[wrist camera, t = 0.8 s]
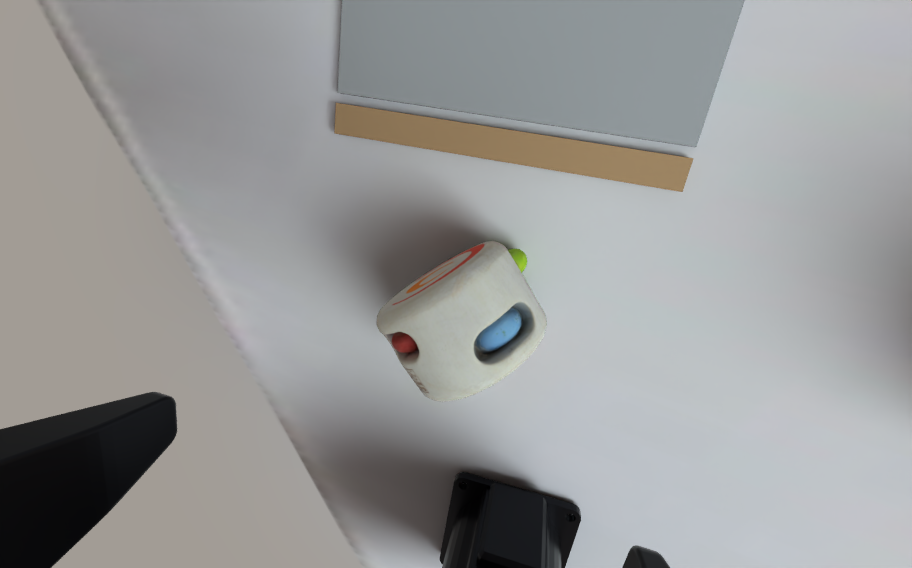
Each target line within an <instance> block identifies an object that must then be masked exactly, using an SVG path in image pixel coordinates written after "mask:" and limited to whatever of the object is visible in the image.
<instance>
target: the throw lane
mask: <svg viewBox="0 0 912 568" xmlns="http://www.w3.org/2000/svg"><path fill="white" fill-rule="evenodd" d="M744 1H745V0H342V12H341V32H340V53H339V74H338V93H342V94H348V95H355V96H361V97H368V98H375V99H381V100H388V101H394V102H401V103H407V104H414V105H421V106H427V107H434V108H440V109H447V110H454V111H460V112H467V113H473V114H480V115H487V116H493V117H500V118H506V119H513V120H520V121H526V122H533V123H539V124H546V125H552V126H559V127H566V128H572V129H579V130H585V131H592V132H599V133H605V134H612V135H618V136H625V137H632V138H638V139H645V140H651V141H658V142H665V143H671V144H678V145H684V146H691V147H696V146H697V143H698V140H699V137H700V134H701V131H702V128H703V125H704V122H705V119H706V116H707V113H708V110H709V107H710V104H711V101H712V98H713V95H714V92H715V89H716V86H717V83H718V80H719V77H720V74H721V71H722V68H723V64H724V61H725V58H726V55H727V52H728V49H729V46H730V43H731V40H732V37H733V34H734V31H735V28H736V25H737V22H738V19H739V16H740V13H741V10H742V7H743V4H744ZM334 133H336V134H341V135H347V136H353V137H359V138H365V139H371V140H377V141H383V142H389V143H395V144H401V145H407V146H413V147H419V148H425V149H430V150H436V151H442V152H448V153H454V154H460V155H466V156H472V157H478V158H484V159H490V160H496V161H502V162H508V163H514V164H519V165H525V166H531V167H537V168H543V169H549V170H555V171H561V172H567V173H573V174H579V175H585V176H591V177H597V178H603V179H608V180H614V181H620V182H626V183H632V184H638V185H644V186H650V187H656V188H662V189H668V190H674V191H680V192H682V191H683V188H684V185H685V182H686V179H687V176H688V173H689V170H690V167H691V164H692V161H693V158H687V157H681V156H674V155H668V154H661V153H655V152H648V151H642V150H636V149H629V148H623V147H616V146H610V145H604V144H597V143H591V142H584V141H578V140H572V139H565V138H559V137H552V136H546V135H539V134H533V133H527V132H520V131H514V130H507V129H501V128H495V127H488V126H482V125H475V124H469V123H462V122H456V121H450V120H443V119H437V118H430V117H424V116H418V115H411V114H405V113H398V112H392V111H385V110H379V109H373V108H366V107H360V106H353V105H347V104H341V103H336V111H335V132H334Z"/></svg>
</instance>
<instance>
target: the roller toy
mask: <svg viewBox="0 0 912 568" xmlns="http://www.w3.org/2000/svg"><path fill="white" fill-rule="evenodd" d="M526 265H527V258H526V255H525V253H524V252H523V251H521V250H519V249H509V250H507V248H506V247H505V246H504V245H502V244H501V243H498V242H495V241H487V242H484V243H481V244H478V245H476V246H474V247H472V248H470V249H467V250H466V251H464V252H462V253H459V254H458V255H456V256H454V257H452V258H451V259H449V260H447V261H445V262H444V263H442V264H440V265H439V266H437V267H435V268H434V269H432V270H431V271H429V272H427V273H426V274H424V275H423V276H421V277H420V278H418V279H417V280H415V281H414V282H413V283H411V284H410V285H408V286H407V287H406V288H404V289H403V290H402V291H400V292H399V293H398V294H396V295H395V296H394V297H393V298H392V299H390V300H389V301H388V302H387V303H386V304H385V305H384V306H383V307H382V308H381V310H380V311H379V313H378V316H377V327H378V329H379V331H380V332H381V333H382V334H383V335H384V336H385V337H386V338H387V340H388V341H389V342H390V344H391V346H392V347H393V349H394V351H395V353H396V355H397V357H398V359H399V360H400V362H401V364H402V365H403V367H404V368H405V370H406V371H407V372H408V374H409V375H410V376H411V378H412V379H413V380H414V382H415V383H416V385H417V386H418V387H419V389H420V390H421V391H422V393H423V394H424V395H425V396H427V397H428V398H430V399H432V400H436V401H453V400H458V399H462V398H466V397H468V396H471V395H474V394H476V393H478V392H480V391H482V390H484V389H486V388H488V387H490V386H492V385H494V384H496V383H497V382H499V381H500V380H502V379H503V378H505V377H506V376H507V375H509V374H510V373H512V372H513V371H514V370H515V369H517V368H518V367H519V366H520V365H521V364H522V363H523V362H524V361H525V360H527V359H528V357H529V356H530V355H531V354H532V353H533V352H534V350H535V349H536V348H537V347H538V345H539V343H540V342H541V340H542V338H543V336H544V334H545V330H546V325H547V321H546V316H545V313H544V311H543V309H542V308H541V306H540V304H539V303H538V301H537V299H536V297H535V295H534V294H533V292H532V290H531V288H530V287H529V285H528V283H527V281H526V280H525V278H524V276H523V274H522V272H523V271H524V269H525V267H526Z"/></svg>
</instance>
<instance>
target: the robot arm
mask: <svg viewBox="0 0 912 568" xmlns="http://www.w3.org/2000/svg"><path fill="white" fill-rule="evenodd" d="M176 433H177V417H176V403H175V400H174V399H173V398H172V397H170V396H167V395H164V394H161V393H157V392H150V393H145V394H141V395H137V396H134V397H129V398H125V399H121V400H117V401H113V402H109V403H105V404H101V405H97V406H93V407H89V408H85V409H81V410H77V411H73V412H69V413H65V414H61V415H57V416H53V417H48V418H45V419H40V420H37V421H33V422H29V423H24V424H20V425H16V426H12V427H8V428H4V429H0V568H51V567H52V566H53V565H54V564H55V563H56V562H58V561H59V560H60V559H61V557H63V555H65V554H66V553H67V552H68V551H69V550H70V549H71V548H72V547H73V546H74V545H75V544H76V543H77V542H79V540H81V538H83V537H84V536H85V535H86V534H87V533H88V532H89V531H90V530H91V529H92V528H93V527H94V526H95V525H96V524H97V523H98V522H99V521H100V520H101V519H102V518H103V517H104V516H105V515H106V514H107V513H108V512H109V511H110V510H111V509H112V508H113V507H114V506H115V505H116V504H117V503H118V502H119V501H120V500H121V499H122V498H123V496H124V495H125V494H126V493H127V492H128V491H129V490H130V489H131V487H132V486H133V485H134V484H135V483H136V482H137V481H138V480H139V478H140V477H141V476H142V475H143V474H144V473H145V471H147V470H148V468H149V467H150V466H151V465H152V464H153V463H154V462H155V461H156V459H158V457H159V456H160V455H161V454H162V453H163V452H164V451H165V450H166V449H167V447H168V446H169V445H170V444H171V443H172V441H173V440H174V438H175V436H176ZM462 482H465V483H467V484H463V483H462ZM568 514H573V515H568ZM580 521H581V513H580V509H579V508H578V507H577V506H576V505H574V504H572V503H568V502H565V501H561V500H558V499H555V498H551V497H548V496H544V495H541V494H537V493H534V492H531V491H527V490H524V489H520V488H517V487H514V486H510V485H507V484H503V483H500V482H496V481H493V480H490V479H486V478H483V477H479V476H476V475H473V474H469V473H465V472H462V473H459V474H457V476H456V478H455V482H454V486H453V491H452V497H451V502H450V507H449V512H448V517H447V523H446V528H445V533H444V538H443V544H442V549H441V554H440V561H441V563H442V564H443V566H442V568H565V566H566V563H567V560H568V557H569V554H570V551H571V548H572V545H573V542H574V539H575V536H576V533H577V530H578V527H579V524H580ZM623 568H670V567H669V565H668V564H667V562H666V561H665V560H664V558H663V557H662V556H661V555H660V554H659V553H658V552H656V551H653V550H650V549H647V548H644V547H641V546H633V547H632V548H631V549H630V551H629V553H628V556H627V558H626V560H625V563H624V565H623Z"/></svg>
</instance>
